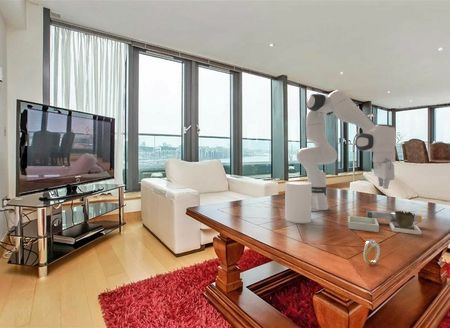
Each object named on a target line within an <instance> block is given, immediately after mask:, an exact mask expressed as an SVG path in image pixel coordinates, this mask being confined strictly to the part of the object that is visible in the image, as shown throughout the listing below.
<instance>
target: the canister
mask: <svg viewBox="0 0 450 328" xmlns="http://www.w3.org/2000/svg"><path fill="white" fill-rule="evenodd" d="M284 189H285V191H284V192H285V197H284V199H285V200H284V202H285V203H284V205H285V206H284V207H285V208H284V209H285V210H284V211H285V213H284V214H285V215H284V216H285V218H284V219H285V221H287V222H290V223H295V224H296V223H297V224H307V223H310V222H312V211H311V195H312V183H311V182H308V181H303V180H293V181H291V180H290V181H285V187H284Z"/></svg>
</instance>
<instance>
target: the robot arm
mask: <svg viewBox="0 0 450 328" xmlns="http://www.w3.org/2000/svg"><path fill="white" fill-rule="evenodd" d="M306 107H307V109H308V111H307V113H306V118H305V129H306V133H305V134H306V139H307V140H308V141H309V142H311V143H312V144H313V145H314V147H311V146H310V147H309V146H308V147H303V148H300V149H299V150H298V151H297V153H296V159H297V162H298V163H299V164H301V166H303V168H304V169H305V171H306V176H307V182H311V183H312V195H311V212H312V211H313V212H318V211H327V210H329V209H330V208H329V205H328V200H327V194H328V187H327V174H326V173H325V171H323V170H321V169H320V168H319V165H330V164H333V163H335V162H336V161H337V159H338V151H337V150H336V149H335V148H334V147H332V145H331V144H330V143H329V141H328V139H327V135H326V131H325V129H326V128H325V117H326V116H330V115H332V114H333V115H334V116H335V117H336V118H337V119H338V120H339V121H340V122H343V123H348V124H352V125H355V126H357V127H359V128H361V130H362V131H364V132H361V133H359V134H358V135H357V136H356V137H355V141H354V145H355V147H356V149H357V150H358V151H361V152H372V153H373V155H372V160H371V161H372V162H373V174H374V176H375V177H377V179H378V186H379V187H381V188H383V189H384V190H388V189H389V184H390V181H394V180H395V165H394V163H396V143H397V142H396V141H397V140H396V139H397V135H396V134H397V133H396V129H395V127H394V126H393V125H391V124H383V123H379V124H376V123H375V122H374V121H373V120H372V118H370V117H369V116H368V115H367V114H366V113H364V112H363V111H362V110H361V109H360V108H359V107H358V106H357V105H356V104H355V102H353V100H352V98H350V96H348V95H347V94H346V92H344V91H342V90H340V89H336V90H334V91H332V92H330V93H318V92H317V93H311V94H310V95H309V96H308V97H307V98H306Z"/></svg>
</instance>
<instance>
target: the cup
mask: <svg viewBox="0 0 450 328" xmlns="http://www.w3.org/2000/svg"><path fill="white" fill-rule="evenodd" d="M396 211H397V212H396ZM398 211H399V212H398ZM394 212H395V216H396V222H397V224H398V225H400V227H399V228H401V229H410V228H409V227H411V226H412V225H413V224H414V223H415V222H414V217H415V215H416V214H415V213H413V212H411V211H408V212H407V210H405V211H403V210H394Z"/></svg>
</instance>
